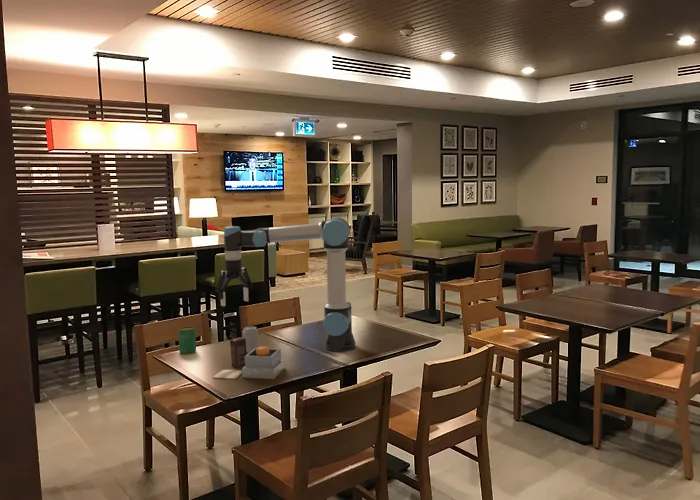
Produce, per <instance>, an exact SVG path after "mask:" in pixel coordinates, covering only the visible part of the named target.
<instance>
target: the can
mask: <svg viewBox="0 0 700 500" xmlns="http://www.w3.org/2000/svg"><path fill="white" fill-rule="evenodd" d="M242 338H246V352H247V354H248V353H249V352H251V351H252V350H253V349H254V348H257V347H260V345H259V330H258V329H257V326H245V327H243V330H242Z"/></svg>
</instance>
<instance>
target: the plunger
mask: <svg viewBox="0 0 700 500" xmlns="http://www.w3.org/2000/svg"><path fill="white" fill-rule="evenodd" d="M269 349H270V347H269V346H267V345H262V346H261V345H260V346H259V347H257V348H256V355H257V356H270V352H269Z"/></svg>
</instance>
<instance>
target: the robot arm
mask: <svg viewBox="0 0 700 500" xmlns="http://www.w3.org/2000/svg"><path fill="white" fill-rule="evenodd" d="M223 231H224V232H223V241H224V258H225V261H224V263H225V264H224V265H225V269H226V270H220V272H219V273H220V274H219V278H218V281H217V284H216V286H215V289H214V291H215V292H217V293H218V299H220V306H221V307H226V292H225V290H226V288H227V287H228V285H229V283H230V282H231V281H232V280H235V279H236V280H237V279H238V280H239V281H240V283H241V284H242V286H243V288H242V289H243V301H244V302H249V294H250V289H251V287H252V286H253V282H252V280H251V278H250V276H249V275H250V274H248V269H247V267H242V248H244V247H245V248H246V247H251V248H252V247H253V248H254V247H255V248H260V247H265V246H267V245H266V244H271V243H281V242H282V243H283V242H294V241H296V242H297V241H306V240H307V241H309V240H319V239H321V240H322V241H323V242H322V243H323V249H324V251H326V275H327V277H326V279H327V280H326V285H327V286H326V287H327V289H326V292H327V293H326V294H327V295H326V296H327V302H326V303H325V305H323V307H324V309H323V310H324V312H323V315H324V316H323V317H324V318H323V321H322V326H323V328H324V331H325V332H326V333H327V337H326V339H325V344H324V348H325V349H326V350H327V351H332V352H333V351H334V352H347V351H351V350H354V349H356V346H357V345H356V340H355V337H354V334H353V325H352V323H353V322H352V320H353V319H352V317H353V316H352V309H353V306H352V303H351V302H350V301H346V300H347V299H346V298H347V293H346V290H347V289H346V288H347V286H346V283H347V282H346V279H347V278H346V275H347V274H346V272H347V271H346V251H347V250H348V249H349V247H350V246H349V245H350V244H349V236H350V233H351V227H350V224H349V223H348V221H347V220H346V219H344V218H342V217H334V218H332V219H327V220H321V221H320V222H318V223H317V222H315V223H308V224H307V223H306V224H305V223H304V224H294V225H284V226H283V225H282V226H273V227H258V228H256V229H252V230H241V227H240V226H235V225H233V226H226V227H224V230H223Z"/></svg>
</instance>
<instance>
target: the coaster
mask: <svg viewBox="0 0 700 500" xmlns="http://www.w3.org/2000/svg"><path fill="white" fill-rule="evenodd" d="M240 376H242V369H221V370H220V371H219V372H217V373H216V374H215V375H214V376H212V379H214V378H215V380H217V379H218V380H235V381H236V380H237V378H239V377H240Z"/></svg>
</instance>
